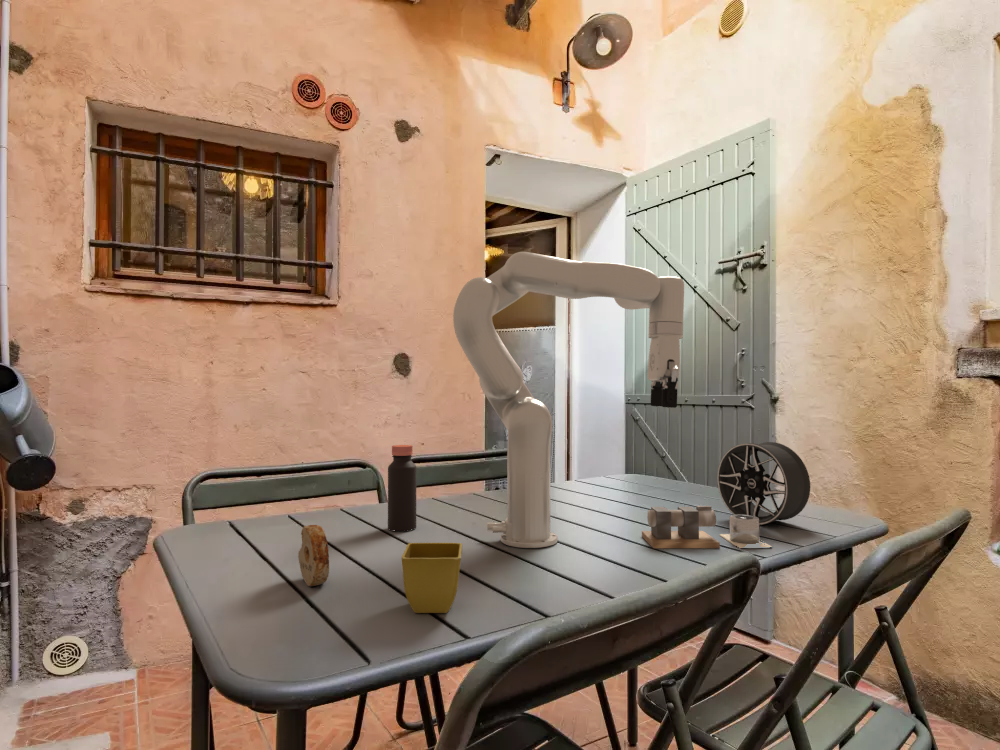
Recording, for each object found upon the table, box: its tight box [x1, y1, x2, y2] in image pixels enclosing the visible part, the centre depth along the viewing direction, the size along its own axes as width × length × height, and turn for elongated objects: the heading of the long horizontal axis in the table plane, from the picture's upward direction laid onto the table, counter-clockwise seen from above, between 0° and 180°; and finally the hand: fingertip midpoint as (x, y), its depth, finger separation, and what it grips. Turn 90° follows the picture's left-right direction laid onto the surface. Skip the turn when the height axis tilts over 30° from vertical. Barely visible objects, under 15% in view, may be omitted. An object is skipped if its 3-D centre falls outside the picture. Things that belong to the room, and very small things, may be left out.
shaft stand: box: [641, 505, 721, 549], centre depth 129 cm, size 14×10×8 cm
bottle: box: [387, 444, 417, 532], centre depth 142 cm, size 7×7×20 cm
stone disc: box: [297, 524, 330, 587], centre depth 103 cm, size 10×4×10 cm, turn 30°
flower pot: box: [401, 542, 463, 614], centre depth 91 cm, size 9×9×9 cm
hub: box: [729, 514, 760, 544], centre depth 129 cm, size 6×6×5 cm
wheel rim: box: [716, 441, 811, 526], centre depth 148 cm, size 20×9×20 cm, turn 30°
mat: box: [719, 533, 773, 549], centre depth 129 cm, size 7×11×1 cm, turn 0°
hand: (663, 406), depth 133 cm, fingers open, 9 cm apart
